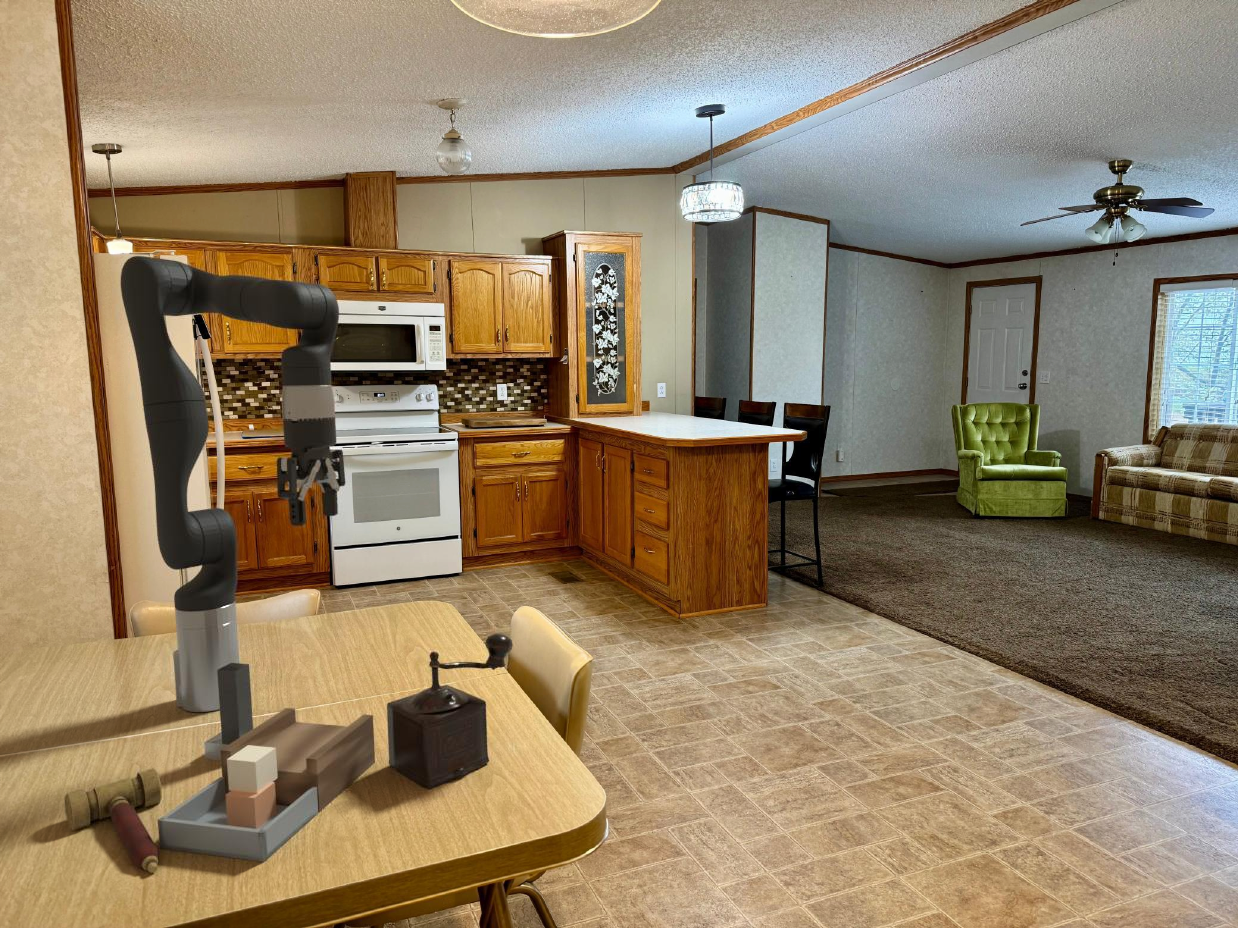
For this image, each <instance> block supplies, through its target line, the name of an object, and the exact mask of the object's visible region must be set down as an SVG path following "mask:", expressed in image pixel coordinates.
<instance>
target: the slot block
mask: <svg viewBox="0 0 1238 928" xmlns="http://www.w3.org/2000/svg"><path fill="white" fill-rule="evenodd" d="M296 719H297V717H296V708H291V707H290V708H289V707H285V708H284V709H282V710H280V711H279V712H277V713H276V714H274V715H273V716H271V717H270V718H269V719H266V720H265V721H264V722H262V723H261V724H259V725H257V726H256V727H253V730H251V731H249V732H248V733H246V734H245V735H243V736H242V737H240V738H239V739H237V740H235V741H234V742H232V743H231V744H229V745H228V746H226V747H224V748H223V749H221V750H220V751H221V760H220V763H221V765H220V766H221V777H225V790H226V794H227V793H229V792H230V791H231V790H229V783H228V769H227V759H228V758H230V757H231V756H233V755H234V754H236V753H237V752H239V751H240V750H242V749H243V748H245V747H246V746H248V745H252V746H262V747H272V748H276V759H277V775H278V778H277V779H276V780H274V781H273V782H275V793H276V805H282V806H290V805H291V804H292V803H293V802H295V801H296V800H297V799H298V798H299V797H301V796H302V795H303V794H304V793H305V792H307V791H308V790H309V789H310V788H311V787H317V800H318V813H320V812H322V810H324V809H325V808H326V807H327V806H328V805H329V804H331V803H332V802H333V801H334V800H335V799H336V798H338V796H340V794H341V793H342V792H344V791H345V790H346V789H347V788H348V787H350V785H351V784H352V783H354V782H355V781H356V780H357V779H358V778H360V776H361V775H362V774H363V773H365V772H366V771H367V770H368V769H369V768H370V767H372V766H373V764H375V763H376V753H375V752H376V751H375V748H376V747H375V732H374V730H375V729H374V715H373V714H362V715H360V716H359V717H358V718H357V719H356V720H354V721H353V722H351V723H350V724H349V725H347V726H345V725H336V724H335V725H334V724H325V723H323V724H322V723H313V722H311V723H310V722H300V721H297V720H296Z"/></svg>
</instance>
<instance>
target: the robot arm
mask: <svg viewBox="0 0 1238 928" xmlns="http://www.w3.org/2000/svg"><path fill="white" fill-rule="evenodd" d="M120 292H121V297H122V302H123V307H124V311H125V316H126V319H127V324H128V327H129V330H130V331H129V332H130V334H131V339H132V343H133V348H134V352H135V356H136V357H135V358H136V362H137V369H138V374H139V375H138V376H139V381H140V389H141V390H140V391H141V398H142V409H143V414H144V421H145V429H146V433H147V438H148V439H147V440H148V444H149V450H150V456H151V457H150V458H151V463H152V472H153V473H152V474H153V483H154V499H155V518H156V519H155V520H156V521H155V522H156V534H157V542H158V543H157V544H158V548H159V552H160V556H161V558H162V560H163V562H164V563H165V564H166V566H167V567H169V568H170V569H172V570H176V571H177V570H179V571H180V570H185V569H191V568H196V567H200V566H201V568H200V571H199V572H198V573H197V574H196V575H195V576H194V577H193V578H192V579H190V580H189V581H188V582H186V583H185V584H183V585H181V586H180V587H179V588H177V589H176V590H175V593H174V595H173V598H174V599H173V600H174V601H173V602H174V603H173V604H174V613H175V626H176V628H175V629H176V637H177V638H176V639H177V640H176V641H177V650H175V651H173V653H172V657H173V670H174V673H173V674H174V686H175V697H176V698H175V699H176V707H181V708H182V709H183V710H184V711H186V712H193V713H204V712H205V713H206V712H214V711H218V710H220V704H219V689H218V675H217V670H218V669H220V668H222V667H224V666H226V665H228V664H230V663H241V661H240V650H239V649H240V647H239V646H240V645H239V634H238V632H239V631H238V618H237V617H238V616H237V605H236V591H237V586H238V537H237V536H238V535H237V529H236V526H235V522H234V519H233V517H232V516H231V515H230V513H229V512H228V511H227V510H225V509H223V508H221V507H212V508H205V509H199V510H192V511H189V509H188V508H189V507H188V486H189V481H190V477H191V475H192V472H193V470H194V467H195V466H196V464H197V461H198V459H199V457H200V455H201V454H202V451H203V449H204V448H205V447H204V446H205V444H206V442H207V440H208V437H209V432H210V425H209V423H210V422H209V417H208V415H209V414H208V409H207V408H208V407H207V402H206V397H205V393H204V390H203V388H202V386H201V384H200V381H199V380H198V379H197V377H196V376H195V374H194V373H193V372H192V369H190V368H189V366H187V364H186V362H185V361H184V360H183V359H182V357H181V356H180V354H179V352H177V350H176V348H175V347H174V345H173V343H172V341H171V338H170V335H169V333H168V328H167V323H166V319H165V316H167V317H181V316H189V315H190V316H191V315H197V314H198V315H200V314H219V315H222V316H224V317H227V318H229V319H233V320H237V321H242V322H248V323H249V322H250V323H256V324H265V325H268V326H271V327H274V328H275V327H276V328H279V329H286V330H287V329H289V330H301V331H302V332H301V335H300V340H299V342H298V343H297V345H292V346H289V347H286V348H284V349H283V350H282V352H281V358H280V360H281V381H282V394H281V410H282V411H281V412H282V425H283V428H282V429H283V444H284V446H285V447H286V448H290V449H291V454H290V456H289V457H288V456H287V457H286V456H285V457H280V456H279V457H278V458H277V459H276V485H277V486H276V487H277V492H276V493H277V497H278V498H279V499H285V500H286V501H287V502H288V510H289V521H290V525H291V526H294V527H295V526H296V527H299V526H300V527H301V526H302V527H303V526H305V525H306V524H307V513H306V512H307V510H306V500H304V499H305V497H306V494H307V492H308V489H310V488H311V487H312V485H313V483H317V484H318V485H319V487H320V489H321V491H322V493H321V498H322V499H321V501H322V513H323V515H324V516H326V517H335V516H337V515H338V514H339V513H338V512H339V511H338V510H339V507H338V506H339V505H338V504H339V503H338V492H339V491H340V487H344V486H346V475H345V460H344V453H343V452H344V451H343V450H342V449H331V448H330V447H333V446H335V445H336V444H337V426H336V409H335V408H336V407H335V398H334V392H333V386H332V384H333V383H332V369H331V367H332V365H331V358H332V353H333V348H334V344H335V339H336V334H337V329H338V326H339V325H338V324H339V320H340V319H339V318H340V309H339V308H340V307H339V302H338V300H337V297H336V296H335V294H334V292H333V291H332V290H331V289H330V288H329V287H327V286H326V285H323V284H319V283H312V282H302V281H293V280H285V279H270V278H266V277H259V276H253V275H244V274H243V275H241V274H227V275H219V274H214V273H212V272H211V273H210V272H208V271H206V270H203V269H200V268H197V267H194V266H192V265H189V264H187V263H184V262H183V261H182V262H181V261H177V260H172V259H166V258H158V257H150V256H144V255H143V256H142V255H133V256H131V257H129V258H128V259H127V260H126V261H125V262H124V264H123V266H122V268H121V273H120ZM336 473H337V474H336ZM337 475H338V476H337ZM337 477H338V478H337ZM286 482H287V484H288V487H287V489H286Z"/></svg>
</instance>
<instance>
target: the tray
mask: <svg viewBox="0 0 1238 928" xmlns="http://www.w3.org/2000/svg"><path fill="white" fill-rule="evenodd" d="M276 810H277V813H275V814H274V815H273V816H272V817H271V818H269V819H268V820H267V821H266V822H265V823H263V824H262V825H261V826H260V827H259V828H257V829H252V828H244V827H236V826H228V824H227V810H226V790H225V777H222V776H219V777H218V778H217V779H215V780H214V781H212V782H211V783H210V784H208V785H207V786H205V787H203V788H202V789H201V790H200V791H198V792H196V793H195V794H193V795H192V796H191V797H189V798H188V799H186V800H185V801H184V802H182V803H180V804H179V805H178V806H176V807H175V808H173V809H172V810H170V811H169V812H167V813H166V814H165V815H163V816H162V817H160V818H159V819H157V828H158V842H159V849H162V850H173V851H178V852H186V853H193V854H201V855H210V856H217V857H225V858H232V859H240V860H248V861H254V862H260V863H261V862H263V863H265V862H266V861H267V860H268V859H269V858H271V857H272V856H273V855H274V854H275V853H276V852H277V851H278V850H279V849H280V848H282V847H283V846H284V845H285V844H286V843H287V842H288V841H290V839H292V838H293V837H294V836H295V835H296V834H297V833H298V832H299V831H300V830H302V829H303V828H304V827H305V826H306V825H307V824H308V823H310V821H311V820H312V819H314V818H315V817H316V816H317V815H318V814H319V812H318V800H317V787H311V788H310V789H309V790H308V791H307V792H305V793H304V794H303V795H302V796H301V797H299V798H298V799H297V800H296V801H295V802H293V803H292V804H291V805H290V806H282V805H276Z"/></svg>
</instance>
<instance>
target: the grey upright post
mask: <svg viewBox="0 0 1238 928" xmlns="http://www.w3.org/2000/svg"><path fill="white" fill-rule="evenodd" d="M217 675H218V689H219V704H220V709H219V717H220V719H219V720H220V730H221V731H220V732H218V733H217V734H216V735H213V736H211V738H209V739H207V740H206V741H204V742H203V745H204V759H205V760H214V761H221V751H220V750H221V749H223V748H224V747H226V746H228V745H229V744H231V743H232V742H234V741H235V740H237V739H239V738H240V737H242V736H243V735H245V734H246V733H248V732H249V731H251V730H253V729H254V720H253V719H254V718H253V706H252V693H251V692H252V690H251V689H252V687H251V686H252V685H251V672H250V663H241V662H240V663H230V664H228V665H226V666H224V667H222V668H220V669H218V670H217Z"/></svg>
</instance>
